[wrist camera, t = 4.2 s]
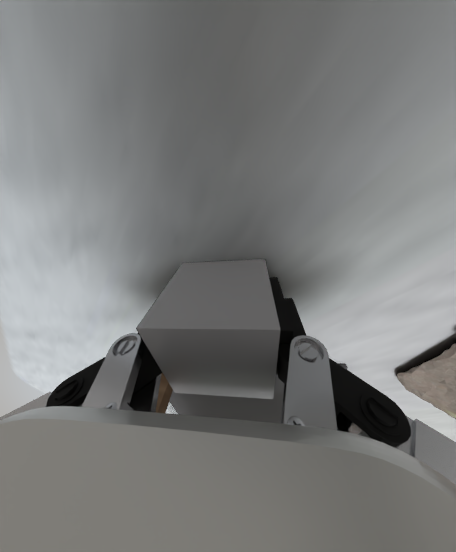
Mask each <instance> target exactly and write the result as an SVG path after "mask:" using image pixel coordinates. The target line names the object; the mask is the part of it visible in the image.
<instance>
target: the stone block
mask: <svg viewBox="0 0 456 552" xmlns="http://www.w3.org/2000/svg"><path fill="white" fill-rule="evenodd" d="M136 329H137V331H138V333H139V334H140V336H141V337H142V339H143V341H144V342H145V344H146V346H147V347H148V349H149V351H150V352H151V354H152V356H153V357H154V359H155V361H156V362H157V364H158V366H159V367H160V369H161V371H162V372H163V374H164V376H165V377H166V379H167V381H168V382H169V384H170V386H171V387H172V389H173V391H174V392H175V393H187V394H202V395H217V396H232V397H247V398H262V399H273V396H274V386H275V377H276V367H277V358H278V349H279V339H280V325H279V321H278V316H277V312H276V307H275V302H274V298H273V293H272V289H271V284H270V280H269V275H268V271H267V266H266V262H265V259H255V260H235V261H214V262H193V263H182V264H181V266H180V267H179V269H178V270H177V271H176V273H175V274H174V276H173V277H172V278H171V280H170V281H169V283H168V284H167V286H166V287H165V288H164V290H163V291H162V293H161V294H160V295H159V297H158V298H157V300H156V301H155V302H154V304H153V305H152V307H151V308H150V309H149V311H148V312H147V314H146V315H145V316H144V318H143V319H142V321H141V322H140V323H139V325H138V326H137V328H136Z"/></svg>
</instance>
